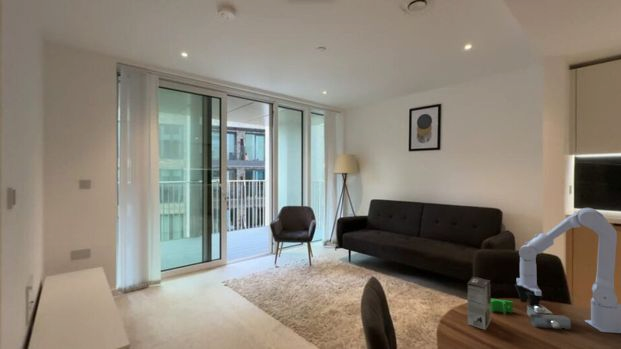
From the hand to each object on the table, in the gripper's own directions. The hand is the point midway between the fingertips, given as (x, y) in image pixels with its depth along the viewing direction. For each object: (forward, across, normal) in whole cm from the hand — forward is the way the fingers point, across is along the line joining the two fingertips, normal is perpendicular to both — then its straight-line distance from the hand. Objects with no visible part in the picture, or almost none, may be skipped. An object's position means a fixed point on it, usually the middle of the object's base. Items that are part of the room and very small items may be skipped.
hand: (528, 305), depth 124 cm
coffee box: (+2, +15, -25) cm, 29 cm away
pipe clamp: (+2, +3, -14) cm, 14 cm away
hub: (+1, +8, 0) cm, 8 cm away
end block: (+1, +14, 0) cm, 14 cm away
